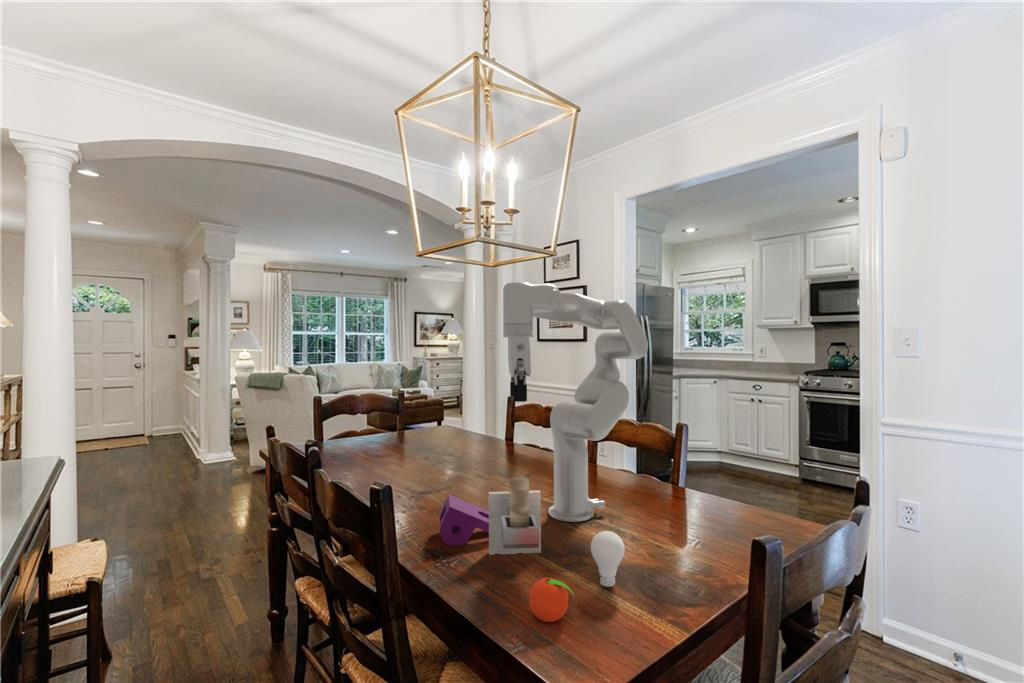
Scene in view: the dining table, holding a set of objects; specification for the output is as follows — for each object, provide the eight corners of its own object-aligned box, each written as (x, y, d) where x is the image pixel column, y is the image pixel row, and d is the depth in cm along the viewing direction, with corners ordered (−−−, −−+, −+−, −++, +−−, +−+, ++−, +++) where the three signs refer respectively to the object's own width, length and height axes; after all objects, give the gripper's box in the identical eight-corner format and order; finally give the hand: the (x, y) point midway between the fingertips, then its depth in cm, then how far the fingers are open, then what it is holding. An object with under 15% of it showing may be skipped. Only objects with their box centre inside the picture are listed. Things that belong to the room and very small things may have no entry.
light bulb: (584, 586, 97) (584, 532, 97) (603, 575, 101) (603, 523, 101) (612, 599, 92) (612, 541, 92) (631, 586, 97) (631, 532, 97)
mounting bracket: (497, 550, 128) (434, 524, 125) (510, 520, 128) (448, 494, 126) (501, 566, 118) (434, 539, 116) (516, 534, 119) (449, 506, 116)
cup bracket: (540, 549, 114) (539, 490, 114) (550, 582, 99) (550, 513, 99) (488, 552, 113) (488, 492, 113) (491, 585, 98) (491, 515, 98)
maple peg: (527, 532, 104) (527, 476, 104) (529, 540, 100) (529, 482, 100) (509, 533, 104) (509, 477, 103) (510, 541, 100) (510, 483, 99)
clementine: (576, 611, 88) (576, 572, 88) (571, 634, 81) (571, 592, 81) (533, 606, 90) (533, 567, 90) (525, 627, 83) (525, 586, 83)
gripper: (537, 331, 115) (537, 403, 115) (528, 332, 132) (528, 394, 132) (505, 331, 114) (506, 403, 114) (501, 332, 131) (501, 395, 131)
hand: (518, 398), depth 123 cm, fingers open, 9 cm apart
